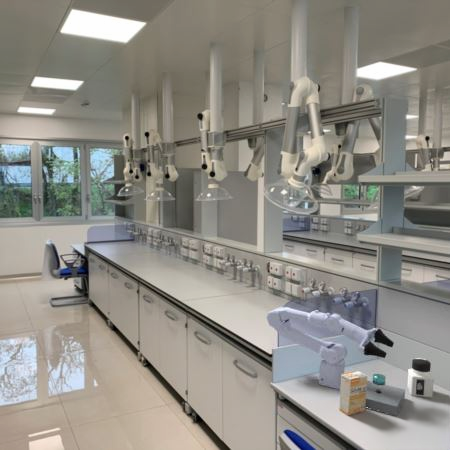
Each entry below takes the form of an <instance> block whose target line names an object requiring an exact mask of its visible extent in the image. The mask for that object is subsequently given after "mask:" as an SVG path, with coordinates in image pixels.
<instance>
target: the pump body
mask: <svg viewBox="0 0 450 450" xmlns="http://www.w3.org/2000/svg"><path fill="white" fill-rule="evenodd" d="M405 396H406V389H404V388H399V387H396V386H392V385H387V384H385V385H380V393H377V385H376V384H374V383H373V381H371V380H367V389H366V405H365V407H368V408H371V409H370V410H372V409H375V410H379V411H382V412H381V413H383V412H385V413H384V414H386V413H388V414H387V415H390V414H391V415H392V416H395V417H397V416H398V413H399V412H400V410H401V408H402V405H403V403H404V401H405V398H406V397H405ZM368 408H367V409H368ZM375 410H374V411H375ZM379 411H378V412H379Z"/></svg>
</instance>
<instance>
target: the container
mask: <svg viewBox="0 0 450 450" xmlns="http://www.w3.org/2000/svg"><path fill="white" fill-rule="evenodd" d="M411 361H412V362H411V368H408V371H407V386H406V387H407V390H408V391H409V394H410V395H411V396H412V397H422V398H430V399H431V398H433V395H434V381H435V379H434V377H433V375H432V374H431V361H429V360H428V359H425V358H421V357H418V358H417V357H415V358H413V359H412V360H411Z"/></svg>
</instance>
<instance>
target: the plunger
mask: <svg viewBox="0 0 450 450" xmlns="http://www.w3.org/2000/svg"><path fill="white" fill-rule="evenodd" d="M386 378H387V377H386V375H384V374H381V373H374V374H373V375H372V382H373V383H374V384H376V385H377V392H376V393H380V385H386ZM380 394H381V393H380Z"/></svg>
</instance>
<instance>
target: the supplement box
mask: <svg viewBox="0 0 450 450" xmlns="http://www.w3.org/2000/svg"><path fill="white" fill-rule="evenodd" d="M367 381H368V375H367V374H365V373H364V372H361V371H359V370H357V371H353V372H348V373H344V374H341V388H340V389H339V411H340V412H342V413H344V414H345V415H346V416H350V415H354V414H357V413H362V412H365V411H366V408H365V405H366V389H367Z"/></svg>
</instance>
